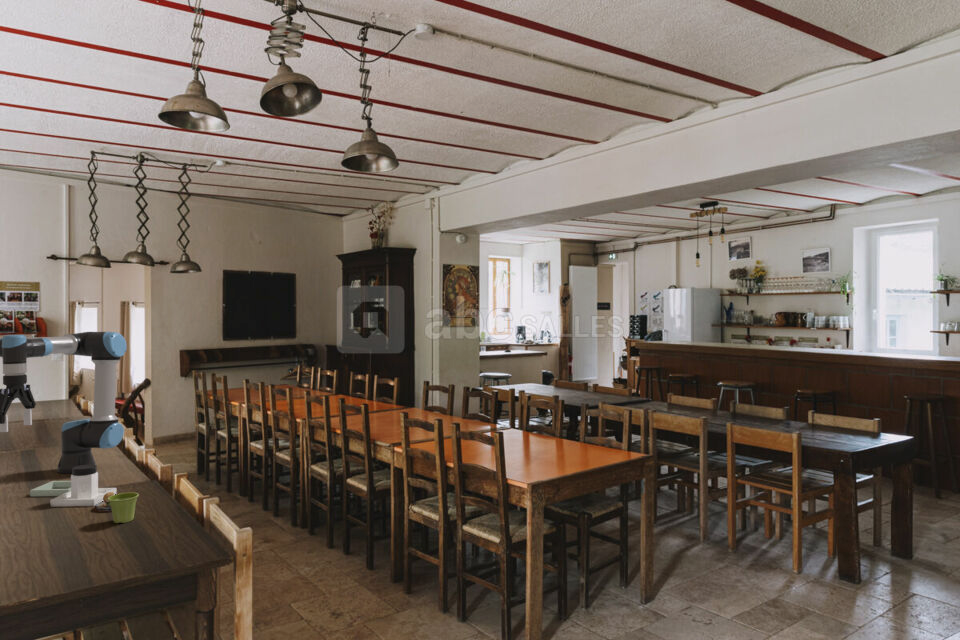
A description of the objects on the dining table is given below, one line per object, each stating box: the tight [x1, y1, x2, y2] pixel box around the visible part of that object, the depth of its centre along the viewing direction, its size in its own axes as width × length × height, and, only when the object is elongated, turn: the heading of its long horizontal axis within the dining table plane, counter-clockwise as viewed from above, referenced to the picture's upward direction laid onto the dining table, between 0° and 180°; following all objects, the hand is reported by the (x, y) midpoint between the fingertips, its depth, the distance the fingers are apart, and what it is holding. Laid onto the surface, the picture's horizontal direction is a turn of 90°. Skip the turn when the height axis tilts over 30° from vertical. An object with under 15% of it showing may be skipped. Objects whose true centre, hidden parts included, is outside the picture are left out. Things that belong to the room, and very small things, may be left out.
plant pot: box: [108, 492, 140, 524], centre depth 219 cm, size 9×9×9 cm
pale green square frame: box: [29, 480, 71, 497], centre depth 255 cm, size 14×15×2 cm
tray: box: [50, 487, 118, 507], centre depth 243 cm, size 16×16×2 cm
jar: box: [70, 464, 99, 499], centre depth 243 cm, size 9×8×12 cm
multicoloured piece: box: [94, 491, 114, 513], centre depth 234 cm, size 12×12×8 cm
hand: (16, 428), depth 243 cm, fingers open, 13 cm apart
